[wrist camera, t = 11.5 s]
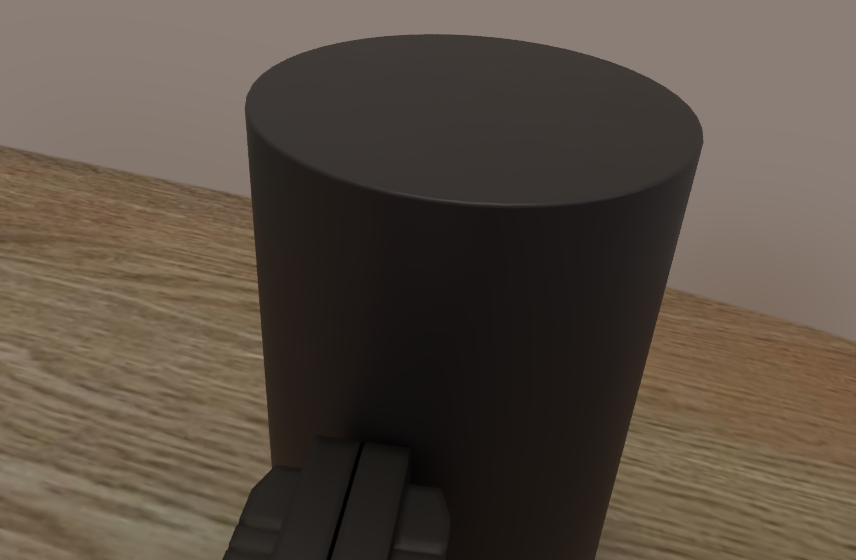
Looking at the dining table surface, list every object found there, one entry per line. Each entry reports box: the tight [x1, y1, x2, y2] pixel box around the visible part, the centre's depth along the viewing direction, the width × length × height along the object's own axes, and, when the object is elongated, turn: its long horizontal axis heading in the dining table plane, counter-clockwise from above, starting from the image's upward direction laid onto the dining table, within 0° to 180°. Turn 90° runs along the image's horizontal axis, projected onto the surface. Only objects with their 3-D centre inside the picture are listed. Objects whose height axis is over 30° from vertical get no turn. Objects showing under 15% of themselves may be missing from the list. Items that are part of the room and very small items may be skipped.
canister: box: [245, 34, 703, 560], centre depth 16 cm, size 7×7×12 cm
